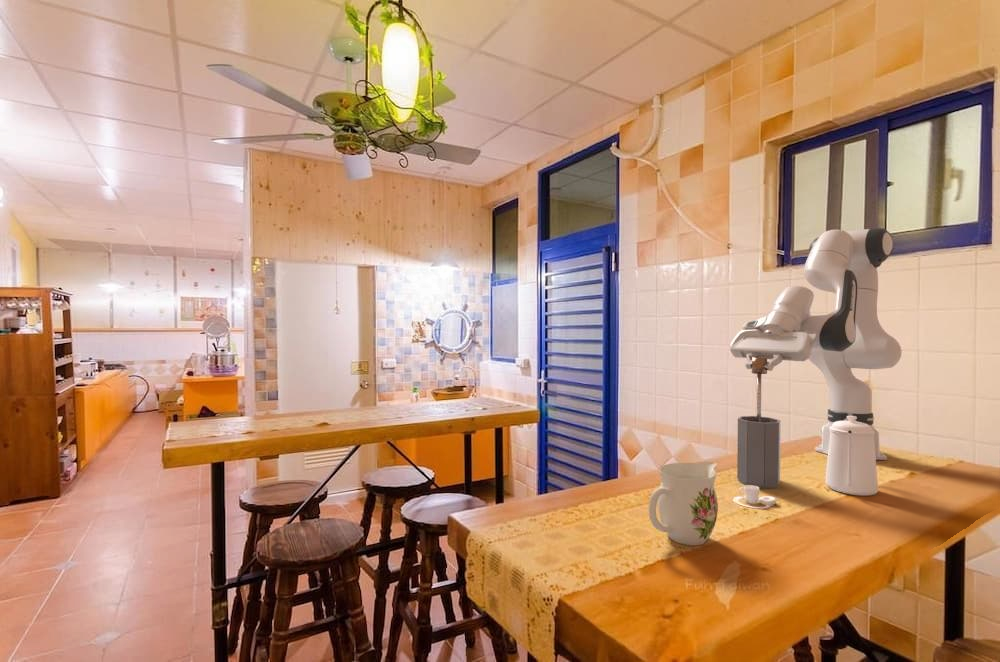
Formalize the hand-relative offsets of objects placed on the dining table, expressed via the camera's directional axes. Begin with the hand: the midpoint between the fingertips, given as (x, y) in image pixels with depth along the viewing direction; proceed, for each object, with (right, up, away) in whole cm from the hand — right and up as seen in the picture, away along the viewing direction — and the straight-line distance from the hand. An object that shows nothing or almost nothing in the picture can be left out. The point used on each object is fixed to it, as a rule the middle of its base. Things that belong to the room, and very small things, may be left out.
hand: (758, 368), depth 129 cm
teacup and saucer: (-8, -31, -17) cm, 36 cm away
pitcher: (-32, -31, -34) cm, 56 cm away
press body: (+1, -30, +2) cm, 30 cm away
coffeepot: (+21, -31, -5) cm, 37 cm away
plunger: (+1, -21, +1) cm, 21 cm away
